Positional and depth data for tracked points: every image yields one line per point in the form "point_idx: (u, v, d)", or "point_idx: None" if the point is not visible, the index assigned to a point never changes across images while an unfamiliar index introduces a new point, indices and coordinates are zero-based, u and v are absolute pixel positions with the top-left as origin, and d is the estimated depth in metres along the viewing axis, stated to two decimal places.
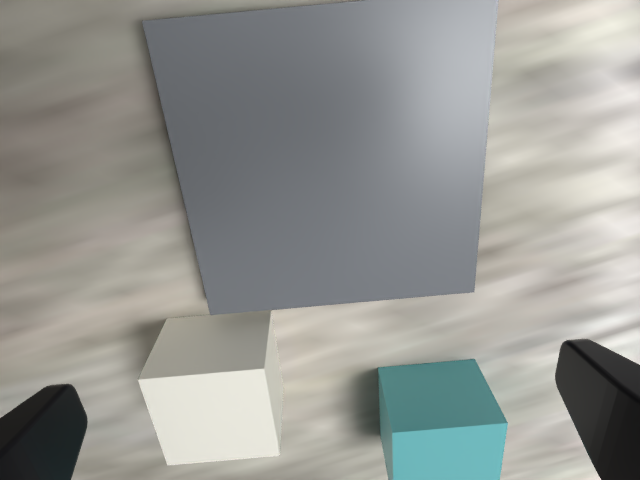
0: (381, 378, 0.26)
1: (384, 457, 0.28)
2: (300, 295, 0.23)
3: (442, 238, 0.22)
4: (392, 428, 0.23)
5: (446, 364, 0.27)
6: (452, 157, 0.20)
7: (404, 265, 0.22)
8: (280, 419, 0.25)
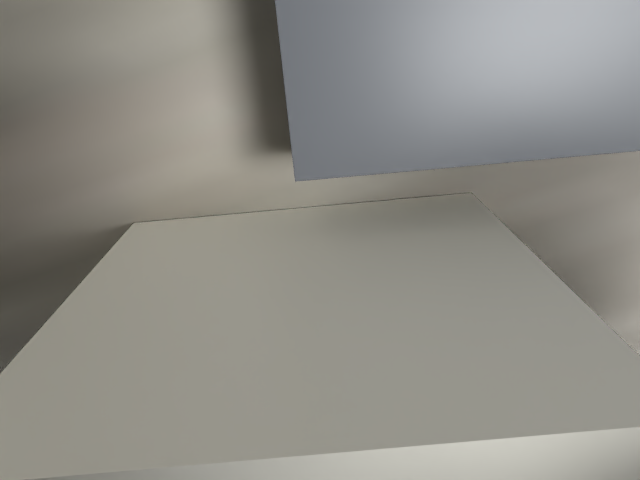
0: None
1: None
2: None
3: None
4: None
5: None
6: None
7: None
8: None
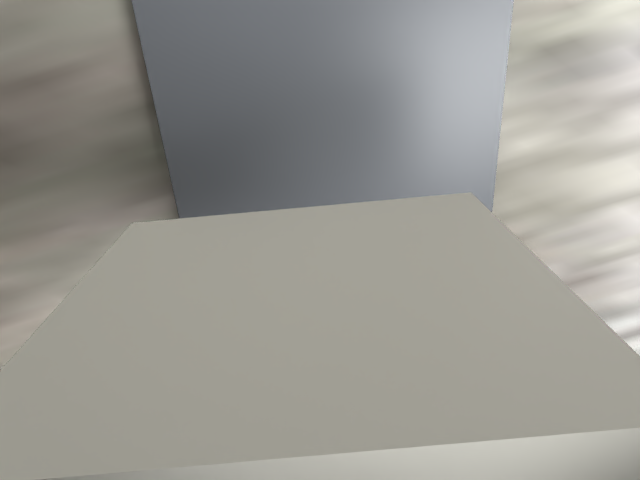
0: None
1: None
2: None
3: None
4: None
5: None
6: (463, 138, 0.18)
7: None
8: None
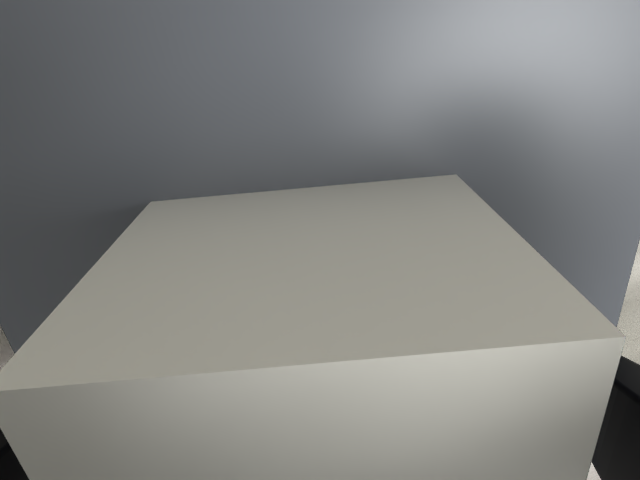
0: None
1: None
2: None
3: None
4: None
5: None
6: None
7: None
8: None
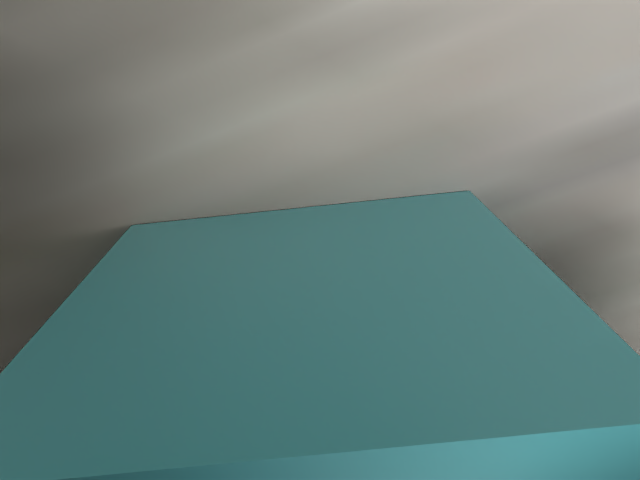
0: (110, 252, 0.07)
1: None
2: None
3: None
4: None
5: (367, 209, 0.07)
6: None
7: None
8: None
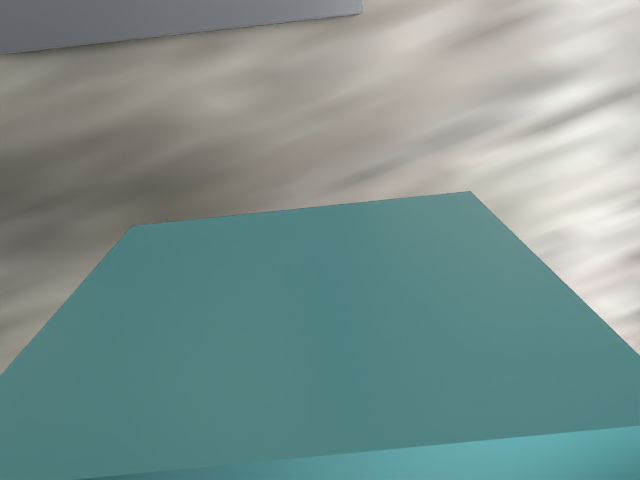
0: (111, 253, 0.07)
1: None
2: (109, 18, 0.16)
3: None
4: None
5: (368, 210, 0.07)
6: None
7: None
8: None
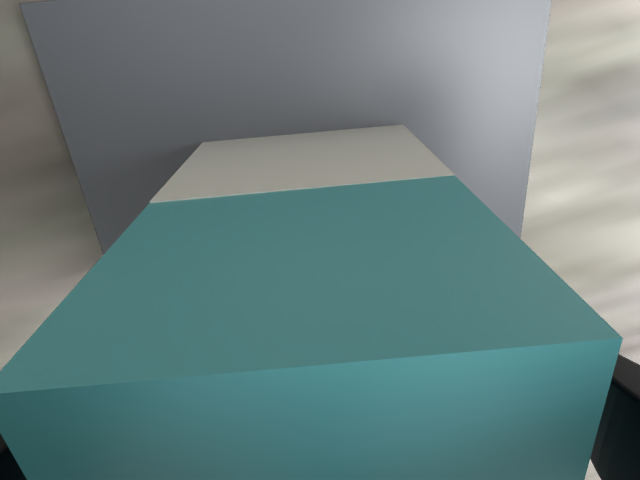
0: (133, 225, 0.08)
1: None
2: None
3: None
4: (3, 374, 0.04)
5: (362, 190, 0.08)
6: None
7: None
8: None
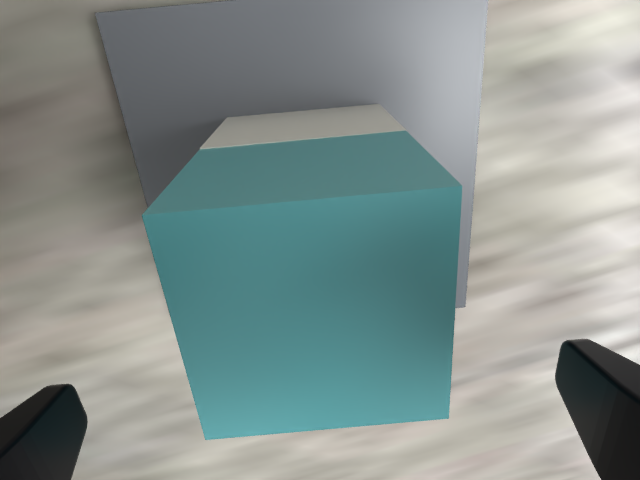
0: (193, 159, 0.12)
1: None
2: None
3: None
4: (149, 209, 0.08)
5: (343, 139, 0.12)
6: (440, 163, 0.18)
7: None
8: None
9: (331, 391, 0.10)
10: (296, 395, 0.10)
